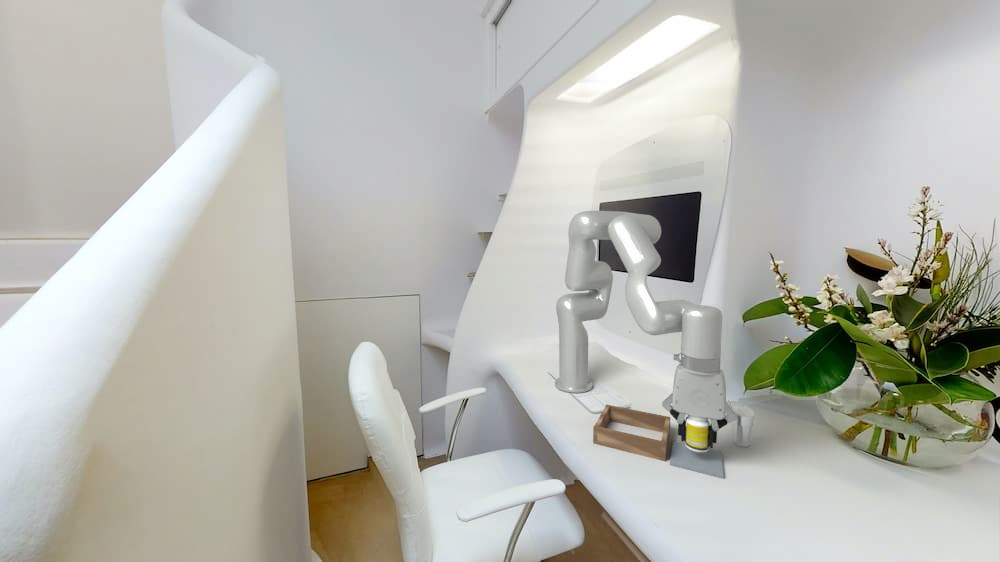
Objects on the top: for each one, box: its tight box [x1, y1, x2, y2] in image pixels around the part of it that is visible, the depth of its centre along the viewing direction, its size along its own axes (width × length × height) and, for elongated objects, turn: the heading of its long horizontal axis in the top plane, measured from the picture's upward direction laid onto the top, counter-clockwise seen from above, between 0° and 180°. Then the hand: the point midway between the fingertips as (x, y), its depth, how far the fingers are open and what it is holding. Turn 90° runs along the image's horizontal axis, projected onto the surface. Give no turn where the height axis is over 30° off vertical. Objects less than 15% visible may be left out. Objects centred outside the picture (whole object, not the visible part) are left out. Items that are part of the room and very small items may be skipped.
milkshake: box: [727, 399, 755, 448], centre depth 87 cm, size 4×5×10 cm
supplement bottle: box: [684, 415, 711, 452], centre depth 80 cm, size 5×5×8 cm
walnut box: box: [592, 404, 671, 462], centre depth 90 cm, size 14×16×4 cm
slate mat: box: [669, 440, 725, 479], centre depth 81 cm, size 10×10×1 cm
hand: (696, 441), depth 81 cm, fingers closed on supplement bottle, 4 cm apart
